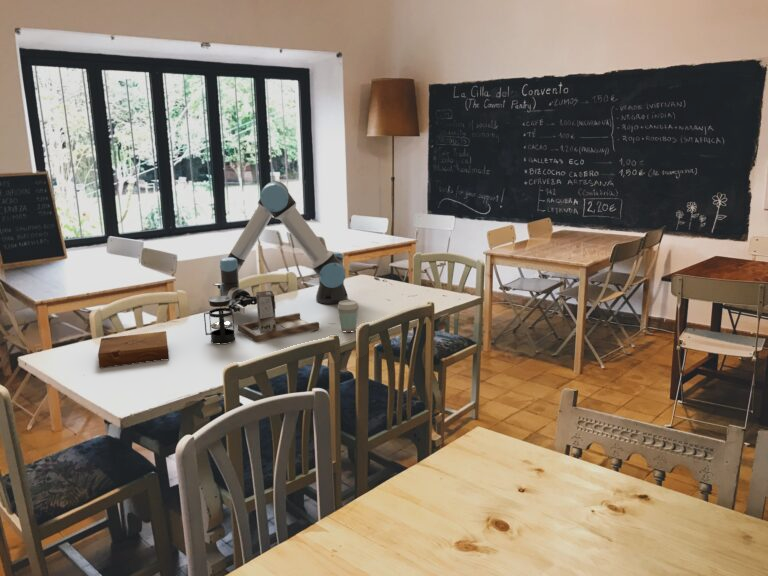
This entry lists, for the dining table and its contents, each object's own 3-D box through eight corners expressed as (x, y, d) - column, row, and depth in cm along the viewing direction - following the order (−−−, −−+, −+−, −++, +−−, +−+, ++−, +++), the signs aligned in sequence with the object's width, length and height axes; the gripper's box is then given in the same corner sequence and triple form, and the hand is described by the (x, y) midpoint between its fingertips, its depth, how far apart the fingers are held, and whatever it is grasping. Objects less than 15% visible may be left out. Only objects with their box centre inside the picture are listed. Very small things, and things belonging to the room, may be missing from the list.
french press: (236, 335, 254) (232, 279, 249) (237, 342, 246) (233, 285, 240) (206, 338, 252) (201, 281, 246) (206, 345, 243) (201, 287, 237)
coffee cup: (360, 327, 262) (359, 299, 259) (357, 334, 254) (356, 305, 251) (339, 327, 263) (339, 299, 260) (336, 334, 255) (335, 305, 252)
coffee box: (276, 334, 255) (274, 295, 251) (260, 336, 253) (258, 297, 249) (274, 327, 264) (271, 290, 260) (258, 329, 262) (255, 291, 258)
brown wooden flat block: (99, 370, 221) (97, 354, 220) (103, 353, 238) (101, 338, 237) (169, 360, 229) (167, 345, 227) (167, 344, 246) (166, 330, 244)
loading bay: (298, 318, 276) (298, 312, 276) (319, 328, 262) (319, 322, 261) (237, 330, 261) (237, 324, 260) (256, 341, 246) (255, 335, 246)
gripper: (266, 301, 285) (287, 311, 268) (212, 310, 271) (231, 322, 254) (265, 284, 283) (286, 294, 266) (210, 293, 269) (229, 304, 252)
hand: (259, 308), depth 260 cm, fingers open, 13 cm apart
